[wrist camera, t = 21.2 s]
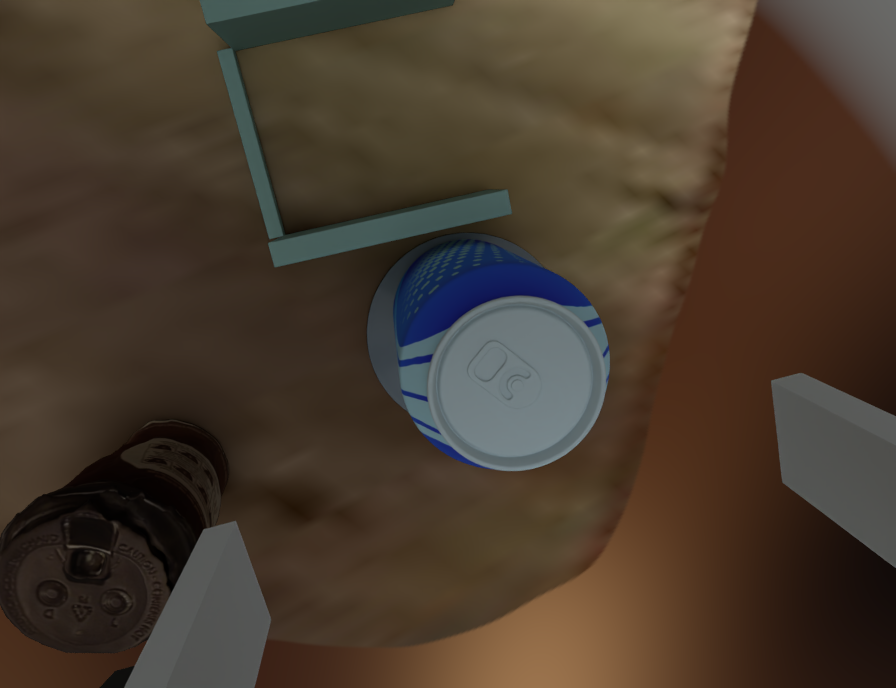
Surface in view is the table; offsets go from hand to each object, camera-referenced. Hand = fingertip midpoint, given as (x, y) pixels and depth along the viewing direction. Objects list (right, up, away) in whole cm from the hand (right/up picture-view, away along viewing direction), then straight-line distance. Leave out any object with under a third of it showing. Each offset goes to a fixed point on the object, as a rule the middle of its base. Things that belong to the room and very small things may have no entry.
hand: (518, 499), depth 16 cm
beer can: (-1, +6, +24) cm, 24 cm away
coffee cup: (-18, -4, +25) cm, 31 cm away
